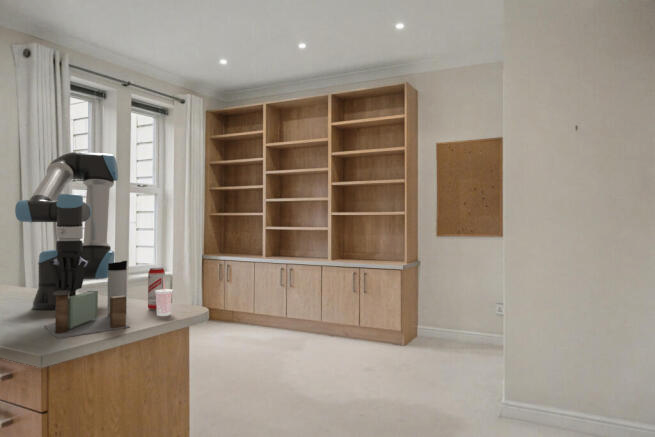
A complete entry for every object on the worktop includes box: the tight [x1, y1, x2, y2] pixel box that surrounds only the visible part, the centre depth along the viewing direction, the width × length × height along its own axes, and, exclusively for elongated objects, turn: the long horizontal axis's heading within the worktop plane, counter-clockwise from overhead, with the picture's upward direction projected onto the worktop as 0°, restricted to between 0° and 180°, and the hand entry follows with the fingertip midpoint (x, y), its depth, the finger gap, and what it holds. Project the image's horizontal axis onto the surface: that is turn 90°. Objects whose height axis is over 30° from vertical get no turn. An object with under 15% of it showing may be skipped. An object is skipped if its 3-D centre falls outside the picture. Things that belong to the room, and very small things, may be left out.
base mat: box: [44, 316, 131, 339], centre depth 140 cm, size 20×20×1 cm
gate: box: [68, 290, 99, 329], centre depth 141 cm, size 3×15×9 cm, turn 178°
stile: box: [110, 296, 127, 328], centre depth 139 cm, size 4×4×10 cm
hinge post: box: [53, 290, 70, 334], centre depth 131 cm, size 4×4×13 cm
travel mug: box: [107, 260, 128, 317], centre depth 157 cm, size 6×7×20 cm
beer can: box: [147, 267, 166, 311], centre depth 169 cm, size 6×6×16 cm
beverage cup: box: [155, 276, 174, 317], centre depth 159 cm, size 6×6×14 cm
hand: (68, 310), depth 143 cm, fingers closed
